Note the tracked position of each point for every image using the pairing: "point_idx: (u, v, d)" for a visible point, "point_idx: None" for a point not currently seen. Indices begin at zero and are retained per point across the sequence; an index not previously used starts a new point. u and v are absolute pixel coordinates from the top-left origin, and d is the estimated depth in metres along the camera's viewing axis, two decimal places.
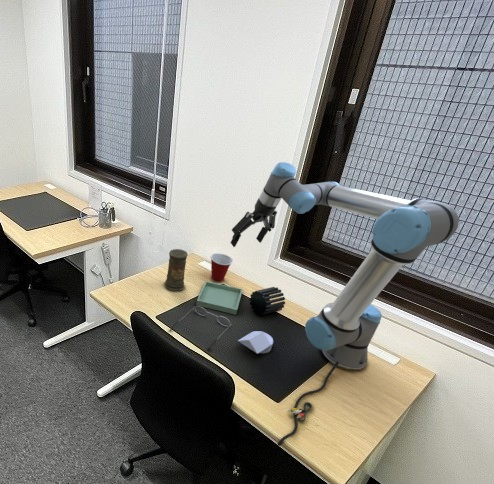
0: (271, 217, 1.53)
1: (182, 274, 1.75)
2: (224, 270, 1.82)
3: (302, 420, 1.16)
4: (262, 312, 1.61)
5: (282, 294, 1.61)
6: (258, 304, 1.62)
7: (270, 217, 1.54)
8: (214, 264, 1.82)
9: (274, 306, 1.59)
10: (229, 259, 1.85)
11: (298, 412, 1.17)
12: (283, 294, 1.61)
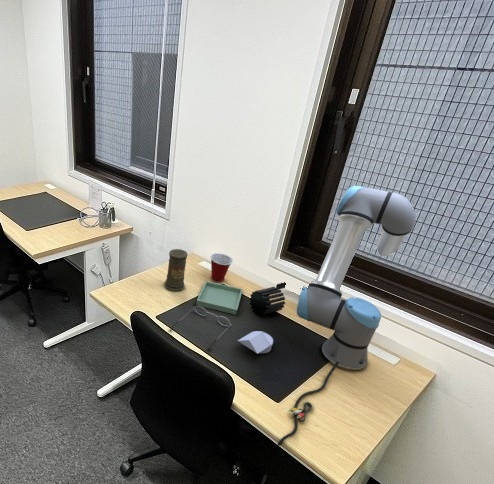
0: None
1: (182, 274, 1.75)
2: (224, 270, 1.82)
3: (302, 420, 1.16)
4: (262, 312, 1.61)
5: (282, 294, 1.61)
6: (258, 304, 1.62)
7: None
8: (214, 264, 1.82)
9: (274, 306, 1.59)
10: (229, 259, 1.85)
11: (298, 412, 1.17)
12: (283, 294, 1.61)
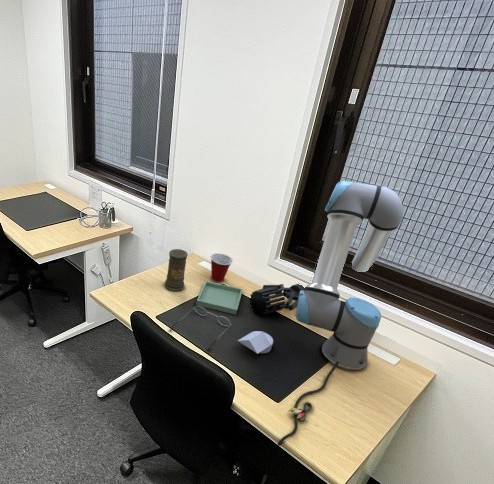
0: None
1: (182, 274, 1.75)
2: (224, 270, 1.82)
3: (302, 420, 1.16)
4: (262, 312, 1.61)
5: (282, 294, 1.61)
6: (258, 304, 1.62)
7: None
8: (214, 264, 1.82)
9: None
10: (229, 259, 1.85)
11: (298, 412, 1.17)
12: (283, 294, 1.61)
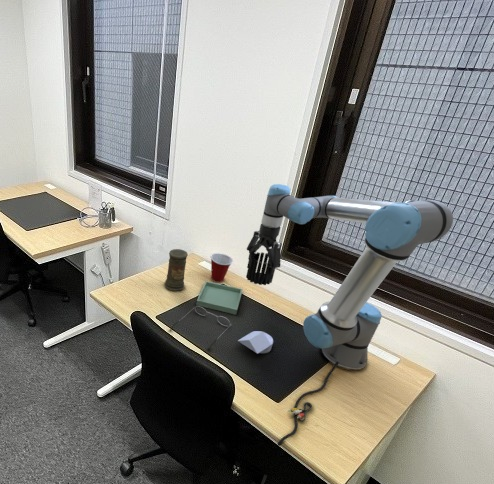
0: None
1: (182, 274, 1.75)
2: (224, 270, 1.82)
3: (302, 420, 1.16)
4: None
5: (260, 264, 1.54)
6: None
7: None
8: (214, 264, 1.82)
9: None
10: (229, 259, 1.85)
11: (298, 412, 1.17)
12: (260, 263, 1.53)
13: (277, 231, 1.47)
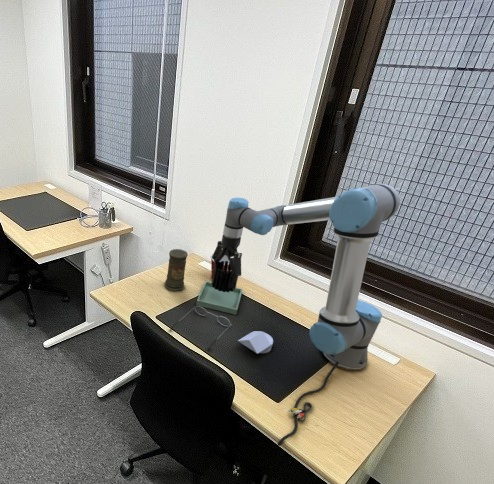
0: None
1: (182, 274, 1.75)
2: None
3: (302, 420, 1.16)
4: None
5: (222, 272, 1.62)
6: None
7: None
8: None
9: None
10: None
11: (298, 412, 1.17)
12: (223, 271, 1.61)
13: (237, 242, 1.55)
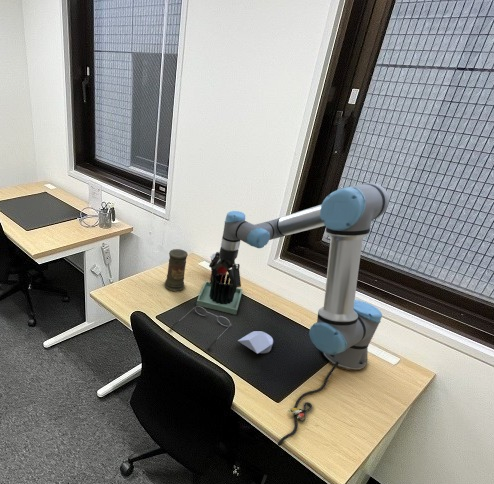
0: None
1: (182, 274, 1.75)
2: (224, 270, 1.82)
3: (302, 420, 1.16)
4: None
5: (220, 285, 1.65)
6: None
7: None
8: None
9: None
10: None
11: (298, 412, 1.17)
12: (221, 284, 1.65)
13: (235, 254, 1.58)
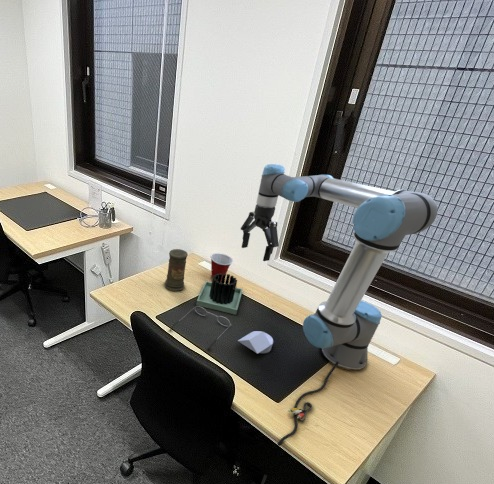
0: None
1: (182, 274, 1.75)
2: (224, 270, 1.82)
3: (302, 420, 1.16)
4: None
5: (220, 285, 1.65)
6: None
7: None
8: (214, 264, 1.82)
9: (228, 296, 1.67)
10: (229, 259, 1.85)
11: (298, 412, 1.17)
12: (221, 284, 1.65)
13: (272, 211, 1.48)
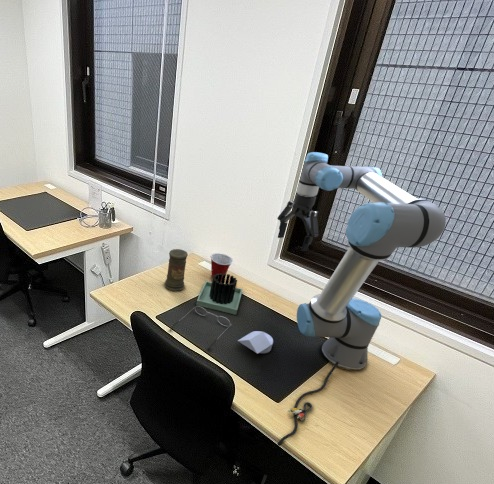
0: None
1: (182, 274, 1.75)
2: (224, 270, 1.82)
3: (302, 420, 1.16)
4: None
5: (220, 285, 1.65)
6: None
7: None
8: (214, 264, 1.82)
9: (228, 296, 1.67)
10: (229, 259, 1.85)
11: (298, 412, 1.17)
12: (221, 284, 1.65)
13: (313, 200, 1.46)
